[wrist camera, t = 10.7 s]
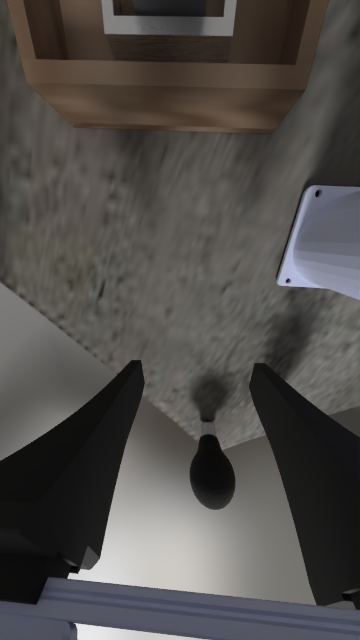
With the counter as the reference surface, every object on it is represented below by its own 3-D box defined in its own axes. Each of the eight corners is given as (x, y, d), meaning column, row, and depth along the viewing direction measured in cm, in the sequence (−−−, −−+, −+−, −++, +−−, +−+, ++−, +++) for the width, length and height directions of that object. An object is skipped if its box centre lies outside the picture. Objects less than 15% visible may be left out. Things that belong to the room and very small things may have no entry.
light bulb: (185, 427, 29) (182, 511, 20) (197, 407, 26) (200, 493, 17) (215, 434, 29) (227, 520, 20) (230, 416, 27) (250, 505, 18)
